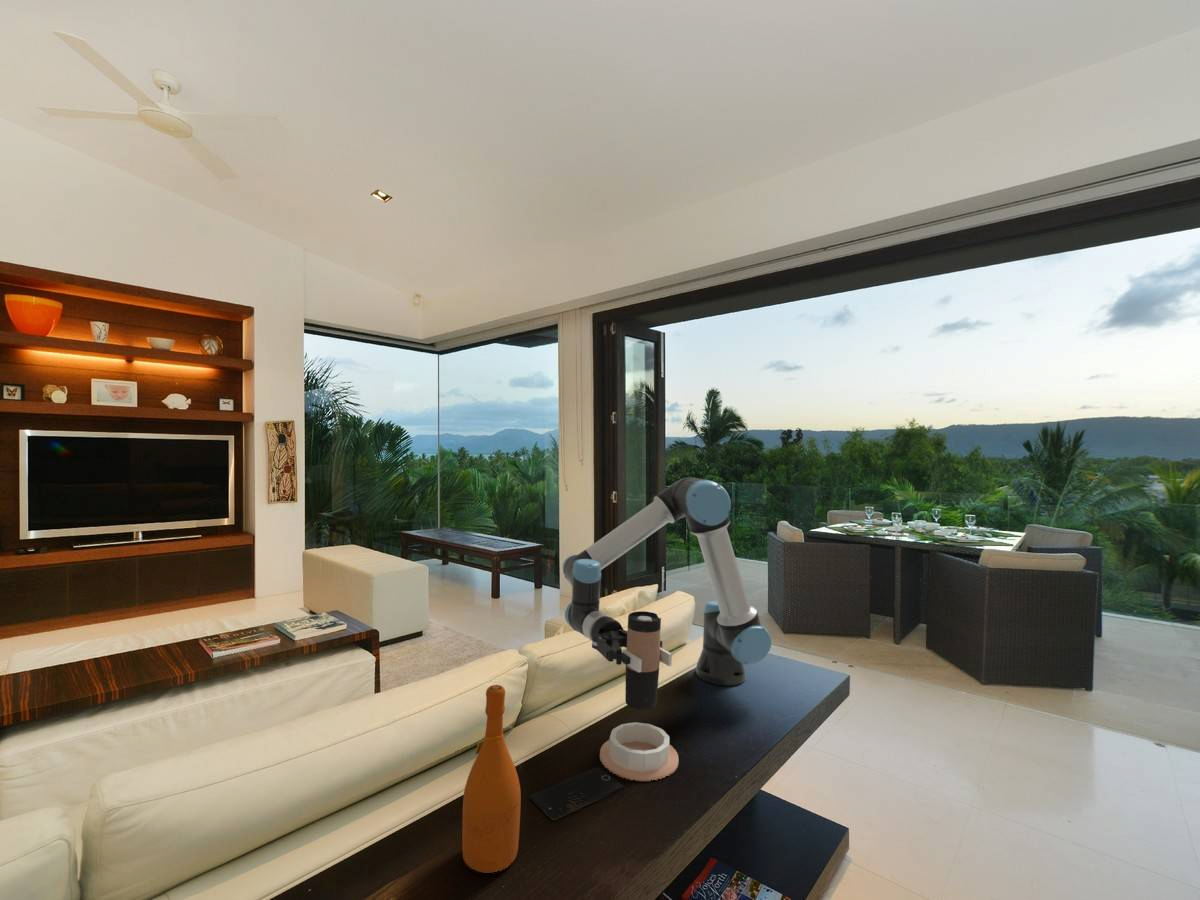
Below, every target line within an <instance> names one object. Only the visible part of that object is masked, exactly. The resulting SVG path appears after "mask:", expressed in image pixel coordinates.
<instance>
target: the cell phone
mask: <svg viewBox="0 0 1200 900" xmlns="http://www.w3.org/2000/svg"><path fill="white" fill-rule="evenodd" d="M621 789H622V790H624V785H623V784H622V783H621V782H619V781H618V780H617V779H616V778H614V777H613V776H611V774H609V773H607V772H606V771H605V770H603V769H602V768H601V767H599V766H596V767H593V768H591V769H587V770H586V771H584V772H581V773H579V774H577V775H574V776H572V777H570V778H567V779H565V780H563V781H561V782H558V783H556V784H554V785H553V784H552V785H551V786H549V787H546V788H543V789H542V790H539V791H537V792H534V793H532V794H530V796H529V799H530V798H531V800H533V801H534V802H535V803H536V804H537V805H538V806H540V808H542V809H543V810H545V812H547V814H549V816H550V817H552V818H554V819H555V818H558V817H559V816H558V815H561V816H562V815H564V814H566V813H568V812H567V811H571V810H568V809H570V808H567V807H569V806H566V805H567V804H572V805H573V803H570V801H568V800H571V801H574V802H575V801H579V802H575V803H576V804H577V805H583V804H586V803H584V802H587V803H588V802H592V801H594V800H597V799H599V798H602V797H605V796H607V795H609V794H611V793H614V792H616V791H618V792H619V790H620V791H622V790H621ZM586 790H587V791H586ZM575 791H577V792H575ZM571 792H573V793H571ZM568 793H570V794H571V795H570V794H568ZM580 793H583V794H580ZM616 793H617V792H616ZM614 794H615V793H614ZM581 795H582V796H584V797H582V796H581ZM585 795H587V796H585ZM573 796H577V797H573ZM567 797H572V798H567ZM589 797H590V798H589ZM607 797H608V796H607ZM576 798H581V799H576ZM605 798H606V797H605ZM572 799H576V800H572ZM531 800H530V801H531ZM580 800H583V801H580ZM578 803H583V804H578ZM573 806H575V805H573ZM559 808H562V809H559ZM575 808H578V807H575ZM560 810H562V811H560ZM561 812H562V813H561Z"/></svg>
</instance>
